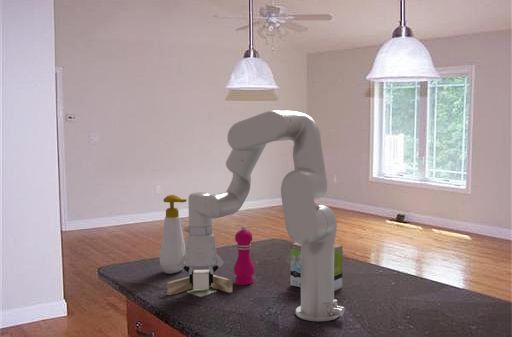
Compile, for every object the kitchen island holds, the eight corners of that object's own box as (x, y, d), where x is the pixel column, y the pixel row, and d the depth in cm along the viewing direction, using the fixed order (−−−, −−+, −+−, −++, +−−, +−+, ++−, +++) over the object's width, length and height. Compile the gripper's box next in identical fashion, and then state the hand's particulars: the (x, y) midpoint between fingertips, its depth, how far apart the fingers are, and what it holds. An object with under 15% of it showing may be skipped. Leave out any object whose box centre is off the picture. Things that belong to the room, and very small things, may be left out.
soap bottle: (177, 278, 194) (175, 197, 192) (154, 274, 199) (151, 196, 196) (196, 269, 205) (195, 193, 203) (174, 266, 210) (172, 192, 208)
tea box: (289, 286, 183) (289, 243, 182) (307, 279, 190) (307, 238, 189) (325, 295, 173) (325, 249, 171) (343, 288, 180) (343, 244, 179)
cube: (208, 288, 175) (208, 273, 174) (193, 289, 174) (193, 274, 174) (209, 284, 180) (209, 269, 179) (194, 284, 180) (194, 269, 179)
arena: (232, 291, 177) (232, 279, 177) (195, 303, 166) (195, 291, 165) (204, 283, 187) (203, 272, 186) (167, 294, 175) (166, 282, 175)
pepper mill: (252, 286, 183) (251, 227, 182) (231, 285, 185) (230, 227, 183) (256, 280, 190) (255, 224, 189) (236, 279, 192) (235, 223, 190)
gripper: (172, 233, 171) (174, 289, 173) (226, 232, 172) (227, 288, 174) (175, 228, 179) (176, 282, 180) (226, 228, 180) (227, 281, 181)
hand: (201, 284), depth 177 cm, fingers closed on cube, 5 cm apart
